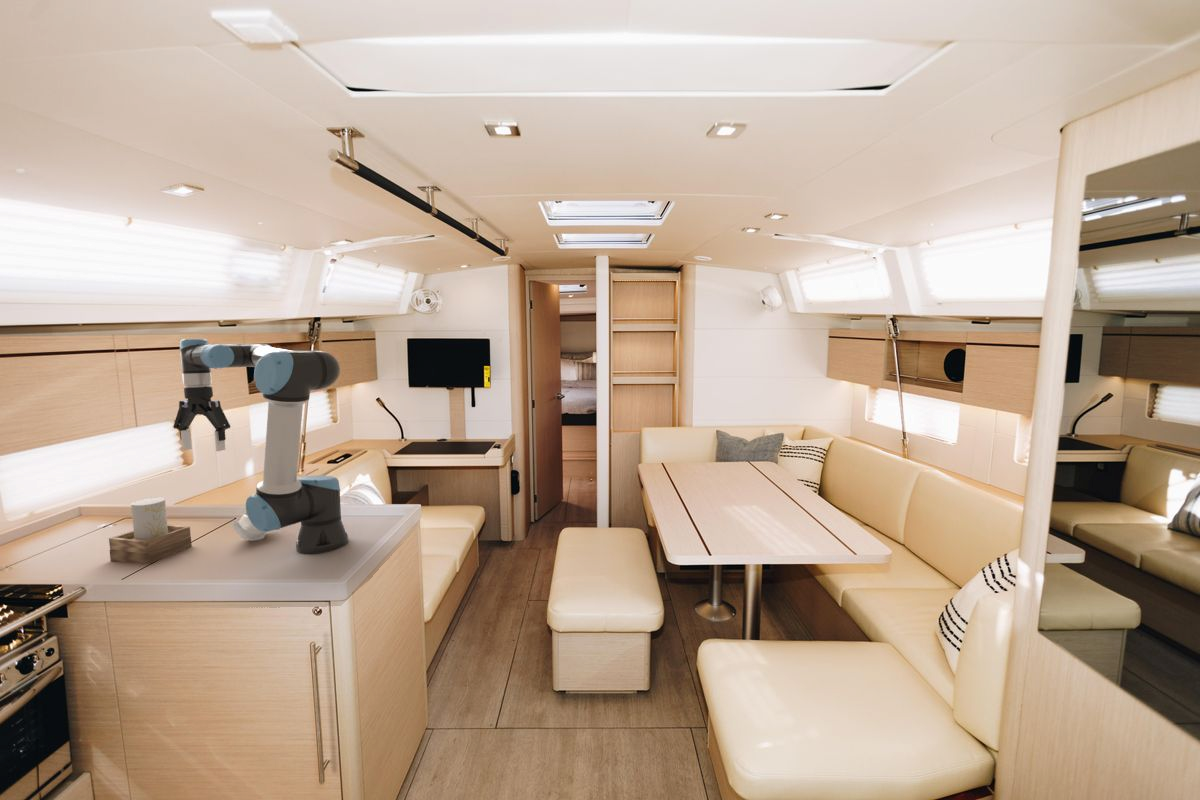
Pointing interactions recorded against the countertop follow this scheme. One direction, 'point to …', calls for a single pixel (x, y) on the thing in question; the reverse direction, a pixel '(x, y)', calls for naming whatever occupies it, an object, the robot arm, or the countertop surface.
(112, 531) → the countertop surface
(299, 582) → the countertop surface
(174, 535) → the wooden tray
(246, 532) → the teapot
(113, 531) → the countertop surface
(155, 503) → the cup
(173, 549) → the tower base
